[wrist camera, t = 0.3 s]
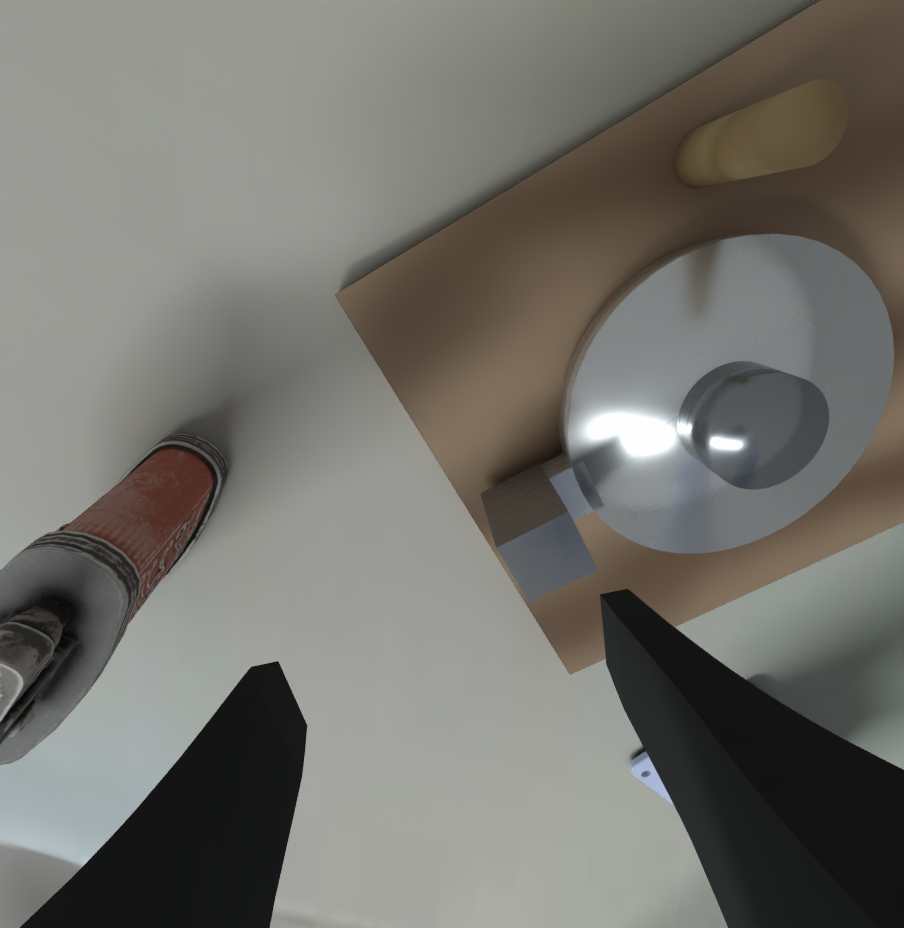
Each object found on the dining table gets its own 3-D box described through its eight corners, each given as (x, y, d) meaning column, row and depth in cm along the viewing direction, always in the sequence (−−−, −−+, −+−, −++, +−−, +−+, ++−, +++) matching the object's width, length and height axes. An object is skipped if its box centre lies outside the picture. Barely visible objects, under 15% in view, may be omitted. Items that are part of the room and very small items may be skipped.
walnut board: (964, 473, 21) (1133, 543, 16) (563, 658, 24) (605, 768, 19) (907, -53, 14) (1183, -218, 9) (338, 292, 17) (307, 313, 12)
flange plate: (884, 454, 19) (989, 500, 16) (552, 613, 21) (581, 685, 18) (832, 162, 15) (959, 137, 12) (421, 392, 17) (424, 431, 13)
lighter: (163, 414, 18) (-96, 593, 9) (249, 466, 19) (99, 676, 10) (67, 567, 20) (-223, 841, 11) (148, 607, 21) (-53, 887, 12)
